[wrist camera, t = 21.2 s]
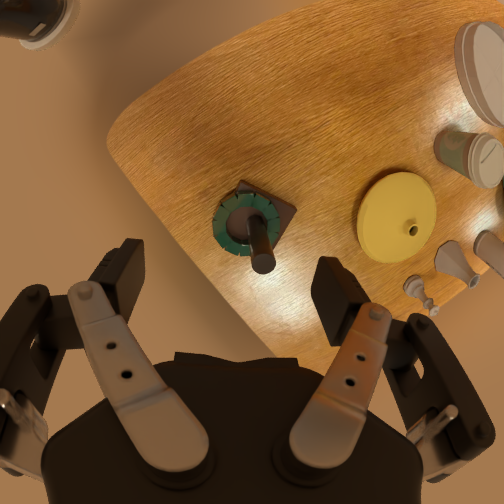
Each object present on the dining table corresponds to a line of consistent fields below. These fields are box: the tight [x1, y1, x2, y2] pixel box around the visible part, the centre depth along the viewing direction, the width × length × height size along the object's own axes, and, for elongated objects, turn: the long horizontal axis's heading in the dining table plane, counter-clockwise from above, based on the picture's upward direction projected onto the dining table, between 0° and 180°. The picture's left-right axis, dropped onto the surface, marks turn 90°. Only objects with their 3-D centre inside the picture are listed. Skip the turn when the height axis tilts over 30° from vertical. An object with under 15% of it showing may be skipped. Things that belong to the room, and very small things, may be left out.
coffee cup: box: [434, 131, 504, 188], centre depth 32 cm, size 8×9×12 cm
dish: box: [454, 22, 504, 128], centre depth 27 cm, size 22×22×5 cm
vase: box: [356, 172, 436, 264], centre depth 40 cm, size 16×16×7 cm
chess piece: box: [404, 275, 439, 316], centre depth 46 cm, size 4×4×10 cm
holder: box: [213, 180, 297, 274], centre depth 36 cm, size 9×9×13 cm
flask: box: [435, 241, 480, 289], centre depth 44 cm, size 7×7×10 cm
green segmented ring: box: [212, 190, 280, 256], centre depth 39 cm, size 9×9×2 cm
